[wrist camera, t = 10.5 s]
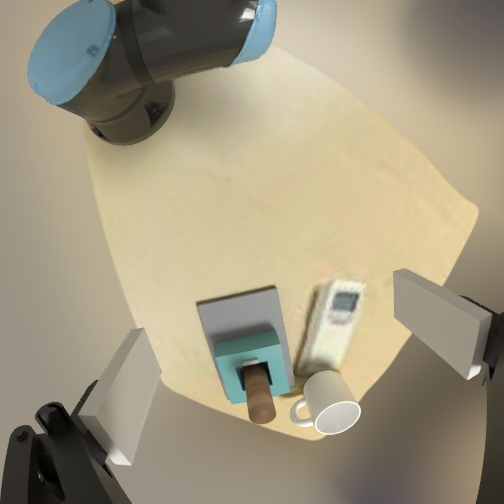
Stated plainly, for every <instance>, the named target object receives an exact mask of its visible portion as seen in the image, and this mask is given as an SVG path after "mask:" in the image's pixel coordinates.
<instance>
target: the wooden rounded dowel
mask: <svg viewBox="0 0 504 504" xmlns="http://www.w3.org/2000/svg"><path fill="white" fill-rule="evenodd" d="M243 372H244V381H245V389H246V397H247V405H248V413H249V419H250V420H251V421H252V422H253V423H256V424H266V423H269V422H271V421H272V420H273V419H274V418H275V417H276V411H275V407H274V403H273V399H272V394H271V390H270V386H269V382H268V378H267V374H266V369H265V365H264V362H260V363H256V364H252V365H247V366H243Z"/></svg>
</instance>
